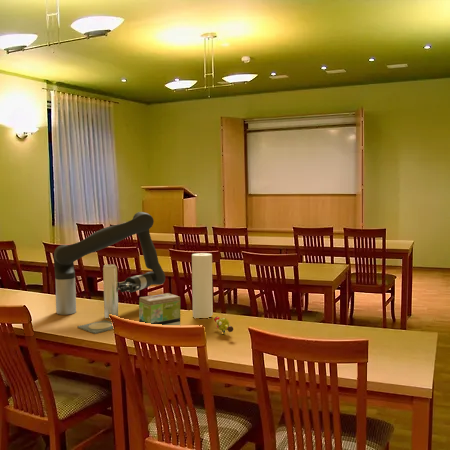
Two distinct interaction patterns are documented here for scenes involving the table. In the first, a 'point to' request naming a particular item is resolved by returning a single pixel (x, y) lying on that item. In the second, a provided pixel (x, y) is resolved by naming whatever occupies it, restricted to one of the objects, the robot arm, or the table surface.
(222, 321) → the toy figure
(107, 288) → the tall cream cylinder
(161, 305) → the tea box
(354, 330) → the table surface
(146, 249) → the robot arm
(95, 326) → the plate
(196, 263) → the cylinder container
